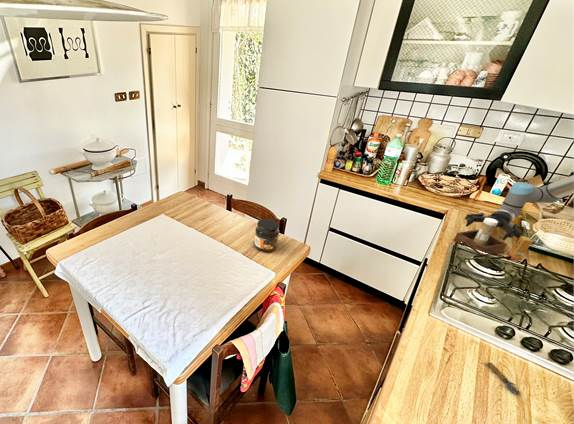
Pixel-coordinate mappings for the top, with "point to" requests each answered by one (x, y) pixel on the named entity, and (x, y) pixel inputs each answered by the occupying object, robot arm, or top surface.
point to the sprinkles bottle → (485, 231)
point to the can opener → (509, 384)
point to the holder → (490, 246)
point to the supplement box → (520, 247)
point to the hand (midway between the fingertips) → (485, 230)
